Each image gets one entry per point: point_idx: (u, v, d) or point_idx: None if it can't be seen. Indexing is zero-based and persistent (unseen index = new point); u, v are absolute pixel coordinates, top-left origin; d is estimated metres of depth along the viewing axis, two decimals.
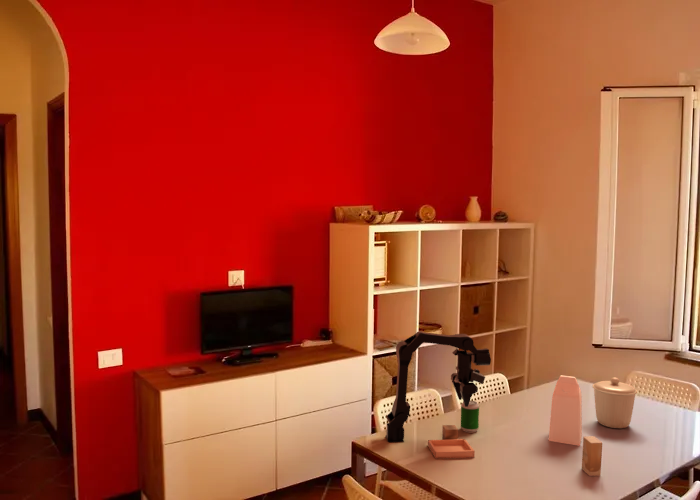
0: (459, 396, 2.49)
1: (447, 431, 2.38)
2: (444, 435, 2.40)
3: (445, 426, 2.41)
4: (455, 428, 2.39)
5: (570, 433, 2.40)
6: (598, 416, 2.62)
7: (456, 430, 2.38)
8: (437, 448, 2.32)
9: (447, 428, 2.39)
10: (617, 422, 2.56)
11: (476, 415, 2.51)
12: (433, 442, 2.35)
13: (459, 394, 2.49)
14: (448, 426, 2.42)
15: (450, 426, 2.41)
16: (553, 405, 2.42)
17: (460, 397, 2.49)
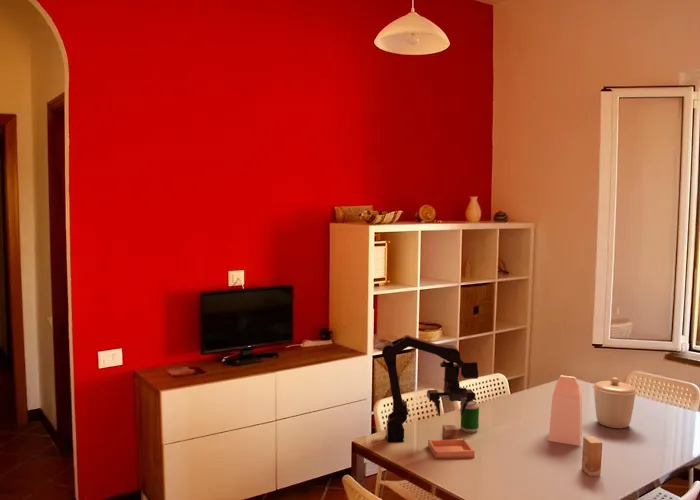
0: (460, 412, 2.41)
1: (447, 431, 2.38)
2: (444, 435, 2.40)
3: (445, 426, 2.41)
4: (455, 428, 2.39)
5: (570, 433, 2.40)
6: (598, 416, 2.62)
7: (456, 430, 2.38)
8: (437, 448, 2.32)
9: (447, 428, 2.39)
10: (617, 422, 2.56)
11: (476, 415, 2.51)
12: (433, 442, 2.35)
13: (461, 410, 2.41)
14: (448, 426, 2.42)
15: (450, 426, 2.41)
16: (553, 405, 2.42)
17: (461, 413, 2.40)
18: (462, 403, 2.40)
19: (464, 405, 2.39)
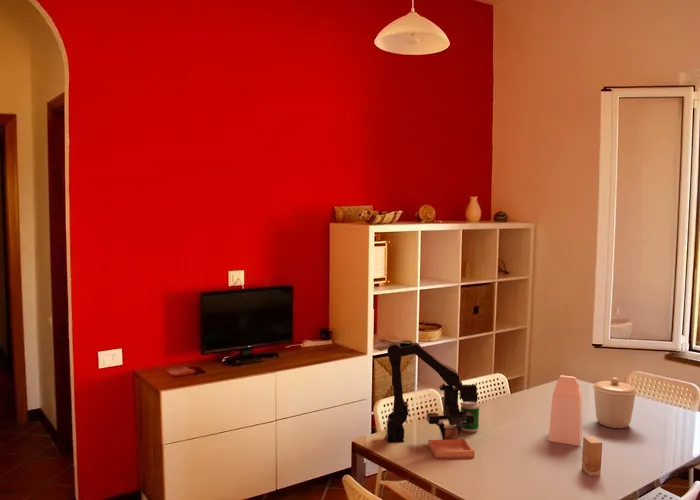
0: None
1: (447, 431, 2.38)
2: None
3: (445, 426, 2.41)
4: (455, 428, 2.39)
5: (570, 433, 2.40)
6: (598, 416, 2.62)
7: (456, 430, 2.38)
8: (437, 448, 2.32)
9: (447, 428, 2.39)
10: (617, 422, 2.56)
11: (476, 415, 2.51)
12: (433, 442, 2.35)
13: None
14: (448, 426, 2.42)
15: (450, 426, 2.41)
16: (553, 405, 2.42)
17: None
18: (457, 426, 2.41)
19: (459, 428, 2.39)
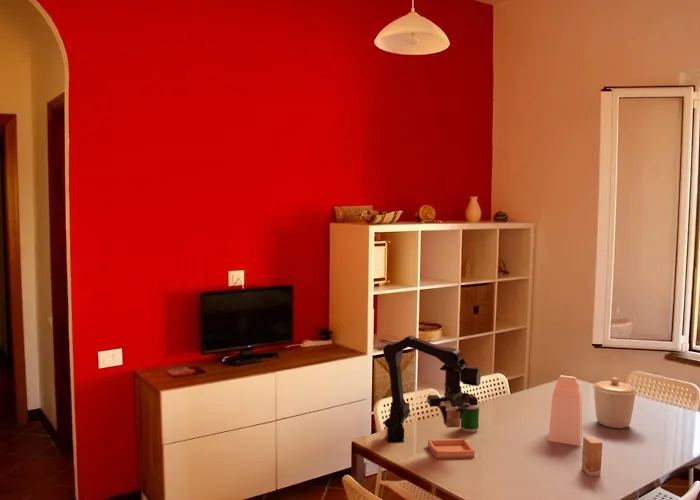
0: None
1: (449, 413, 2.28)
2: (446, 418, 2.29)
3: (447, 409, 2.31)
4: (457, 410, 2.29)
5: (570, 433, 2.40)
6: (598, 416, 2.62)
7: (458, 412, 2.28)
8: (437, 448, 2.32)
9: (449, 410, 2.29)
10: (617, 422, 2.56)
11: (476, 415, 2.51)
12: (433, 442, 2.35)
13: None
14: (450, 408, 2.31)
15: (452, 409, 2.31)
16: (553, 405, 2.42)
17: None
18: (459, 409, 2.31)
19: (461, 411, 2.29)
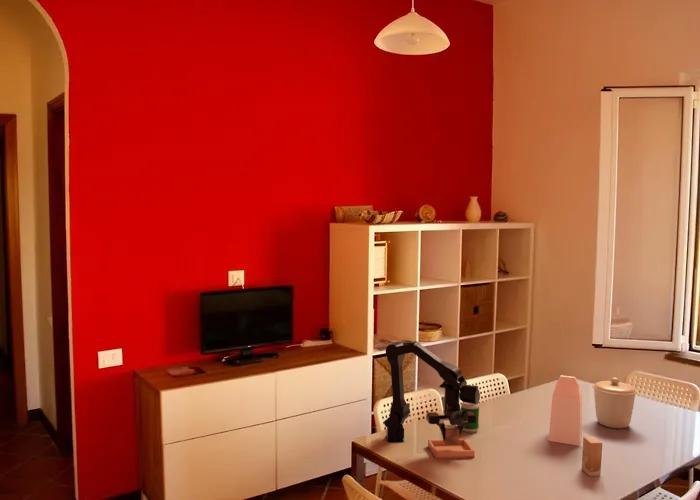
0: None
1: (448, 431, 2.27)
2: (445, 435, 2.29)
3: (446, 426, 2.31)
4: (456, 428, 2.29)
5: (570, 433, 2.40)
6: (598, 416, 2.62)
7: (457, 430, 2.28)
8: (437, 448, 2.32)
9: (448, 428, 2.29)
10: (617, 422, 2.56)
11: (476, 415, 2.51)
12: (433, 442, 2.35)
13: None
14: (449, 426, 2.31)
15: (451, 426, 2.31)
16: (553, 405, 2.42)
17: None
18: (458, 426, 2.30)
19: (460, 428, 2.29)
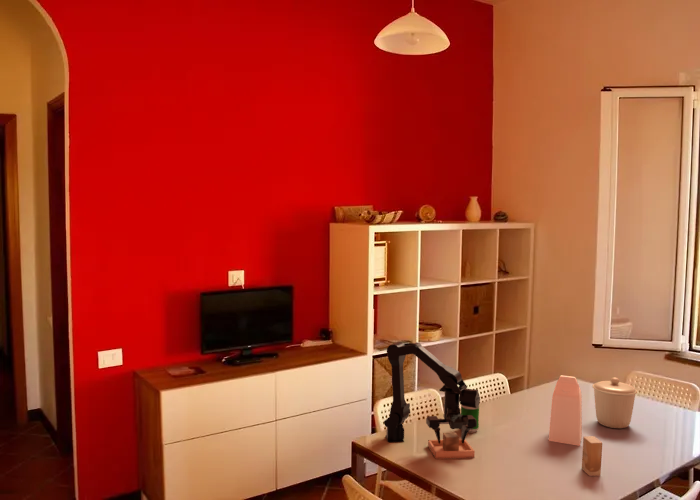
0: (461, 439, 2.31)
1: (448, 439, 2.28)
2: (444, 443, 2.29)
3: (446, 434, 2.31)
4: (456, 436, 2.29)
5: (570, 433, 2.40)
6: (598, 416, 2.62)
7: (457, 438, 2.28)
8: (437, 448, 2.32)
9: (448, 436, 2.29)
10: (617, 422, 2.56)
11: (476, 415, 2.51)
12: (433, 442, 2.35)
13: (462, 437, 2.31)
14: (449, 433, 2.31)
15: (451, 434, 2.31)
16: (553, 405, 2.42)
17: (462, 440, 2.31)
18: (463, 430, 2.31)
19: (465, 432, 2.29)
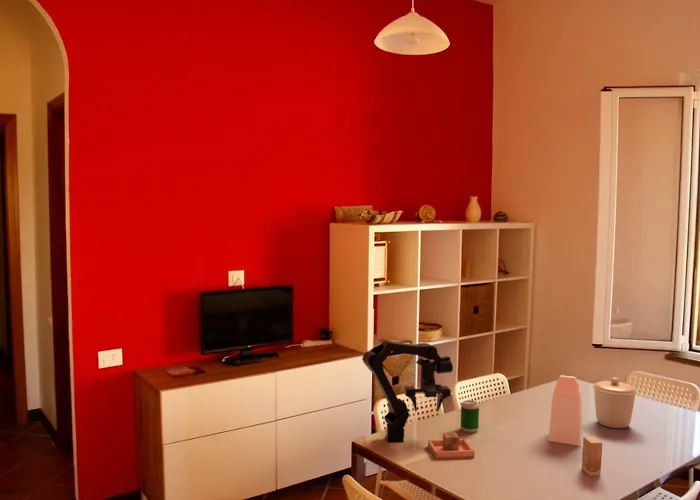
0: (437, 408, 2.48)
1: (448, 439, 2.28)
2: (444, 443, 2.29)
3: (446, 434, 2.31)
4: (456, 436, 2.29)
5: (570, 433, 2.40)
6: (598, 416, 2.62)
7: (457, 438, 2.28)
8: (437, 448, 2.32)
9: (448, 436, 2.29)
10: (617, 422, 2.56)
11: (476, 415, 2.51)
12: (433, 442, 2.35)
13: (437, 406, 2.48)
14: (449, 433, 2.31)
15: (451, 434, 2.31)
16: (553, 405, 2.42)
17: (437, 409, 2.47)
18: (438, 399, 2.47)
19: (440, 401, 2.46)
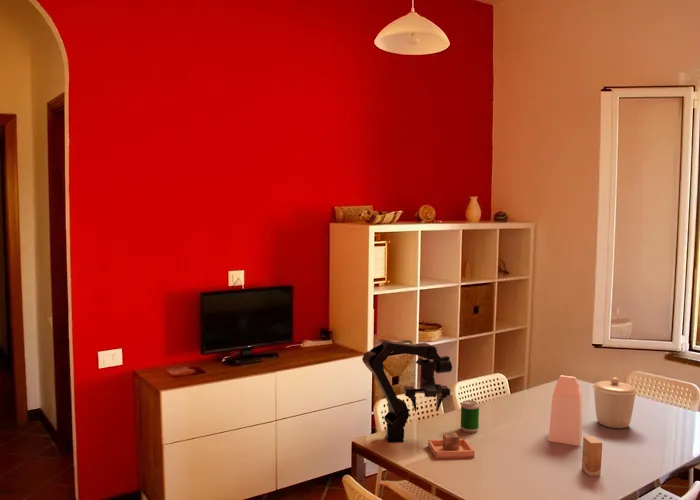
0: (436, 407, 2.48)
1: (448, 439, 2.28)
2: (444, 443, 2.29)
3: (446, 434, 2.31)
4: (456, 436, 2.29)
5: (570, 433, 2.40)
6: (598, 416, 2.62)
7: (457, 438, 2.28)
8: (437, 448, 2.32)
9: (448, 436, 2.29)
10: (617, 422, 2.56)
11: (476, 415, 2.51)
12: (433, 442, 2.35)
13: (436, 405, 2.48)
14: (449, 433, 2.31)
15: (451, 434, 2.31)
16: (553, 405, 2.42)
17: (436, 408, 2.48)
18: (438, 399, 2.47)
19: (440, 401, 2.46)
